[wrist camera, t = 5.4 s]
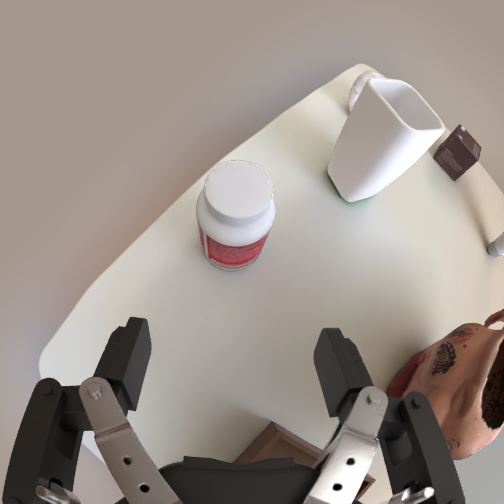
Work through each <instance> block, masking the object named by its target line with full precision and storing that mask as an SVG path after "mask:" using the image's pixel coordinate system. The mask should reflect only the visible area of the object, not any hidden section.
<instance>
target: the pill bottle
mask: <svg viewBox="0 0 504 504" xmlns="http://www.w3.org/2000/svg"><path fill="white" fill-rule="evenodd" d="M272 196H273V184H272V181H271V179H270V177H269V175H268V174H267V173H266V172H265V171H264V170H263V169H262V168H261V167H259V166H258V165H256V164H254V163H251V162H248V161H243V160H232V161H227V162H224V163H221V164H219V165H218V166H216V167H215V168H214V169H213V170H212V171H211V172H210V173H209V174H208V176H207V178H206V181H205V185H204V188H203V190H202V191H201V193H200V195H199V197H198V200H197V205H196V213H197V220H198V226H199V232H200V238H201V244H202V249H203V252H204V254H205V256H206V257H207V259H208V260H209V261H210V262H211V263H212V264H213V265H215V266H216V267H218V268H220V269H223V270H227V271H237V270H241V269H244V268H246V267H248V266H249V265H251V264H252V263H253V262H254V261H255V260H256V259H257V257H258V256H259V254H260V252H261V249H262V247H263V245H264V243H265V240H266V238H267V236H268V233H269V231H270V229H271V227H272V224H273V221H274V217H275V203H274V200H273V197H272Z"/></svg>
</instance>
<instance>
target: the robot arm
mask: <svg viewBox="0 0 504 504" xmlns="http://www.w3.org/2000/svg"><path fill="white" fill-rule="evenodd" d="M150 355H151V338H150V333H149V327H148V322H147V319H145V318H137V317H130V318H129V320H128V322H127V324H126V327H121V326H119V327H118V328H117V329H116V330H115V331H114V332H113V333H112V334H111V336H110V338H109V340H108V343H107V345H106V347H105V350H104V352H103V354H102V356H101V359H100V361H99V363H98V366H97V368H96V370H95V373H94V375H93V377H90V378H88V379H86V380H85V381H83V382H82V384H81V385H79V386H61V385H60V383H59V382H58V381H57V380H55V379H53V378H45V379H42V380H40V381H39V382H38V383H37V385H36V386H35V388H34V391H33V393H32V396H31V398H30V401H29V403H28V406H27V408H26V411H25V414H24V416H23V419H22V422H21V425H20V428H19V431H18V434H17V437H16V441H15V444H14V447H13V451H12V454H11V458H10V462H9V466H8V471H7V475H6V480H5V485H4V491H3V497H2V501H3V504H81V502H80V501H79V499H78V498H77V496H76V495H75V494H74V493H72V491H73V484H74V477H75V471H76V466H77V460H78V455H79V450H80V446H81V441H82V437H83V432H84V431H94V433H95V436H94V438H95V441H96V444H97V446H98V448H99V450H100V452H101V454H102V456H103V458H104V460H105V462H106V464H107V466H108V468H109V470H110V472H111V474H112V476H113V477H114V479H115V481H116V483H117V484H118V486H119V488H120V489H121V491H122V493H123V494H124V496H125V497H123V498H122V499H121V500H119V501H118V502H117V503H115V504H362V503H361V502H359V501H358V500H356V499H355V496H356V494H357V492H358V490H359V488H360V486H361V484H362V482H363V480H364V477H365V475H366V473H367V471H368V468H369V466H370V464H371V461H372V459H373V457H374V454H375V452H376V449H377V446H378V440H376V438H378V439H379V442H380V446H381V450H382V453H383V457H384V461H385V465H386V468H387V472H388V476H389V481H390V485H391V489H392V493H393V497H392V498H391V499H390V501H389V503H388V504H465V497H464V494H463V490H462V487H461V484H460V481H459V477H458V474H457V471H456V468H455V466H454V462H453V460H452V457H451V454H450V451H449V449H448V446H447V443H446V441H445V438H444V436H443V433H442V431H441V428H440V426H439V423H438V421H437V419H436V416H435V414H434V412H433V410H432V407H431V405H430V403H429V401H428V399H427V397H426V396H425V395H424V394H422V393H420V392H417V391H412V392H409V393H408V394H407V395H406V396H405V397H404V398H397V397H388V396H387V395H386V393H385V392H384V391H383V390H381V389H380V388H377V387H374V385H373V383H372V380H371V378H370V376H369V374H368V371H367V369H366V367H365V365H364V362H362V361H363V360H362V358H361V356H360V355H359V351H358V349H357V347H356V345H355V344H354V343H353V342H352V341H351V340H350V339H349V338H344V337H343V335H342V332H341V330H340V329H339V328H323V329H322V331H321V334H320V336H319V339H318V342H317V345H316V348H315V350H314V364H315V367H316V370H317V374H318V377H319V381H320V384H321V388H322V391H323V395H324V398H325V402H326V406H327V409H328V413H329V416H330V418H331V417H338V418H339V422H338V424H337V426H336V428H335V430H334V432H333V433H332V435H331V437H330V439H329V441H328V443H327V444H326V446H325V448H324V450H323V451H322V453H321V454H320V456H319V457H318V459H317V460H316V461H315V463H314V464H313V466H312V467H310V466H307V465H304V464H300V463H295V462H294V457H286V458H271V459H264V460H260V461H256V462H252V463H248V464H244V465H236V464H231V463H227V462H223V461H219V460H215V459H212V458H200V457H189V456H184V460H183V461H182V462H176V463H172V464H169V465H166V466H164V467H162V468H160V469H157V467H156V466H155V464H154V463H153V461H152V460H151V458H150V457H149V455H148V454H147V452H146V451H145V449H144V448H143V446H142V444H141V443H140V441H139V439H138V438H137V436H136V434H135V432H134V431H133V429H132V427H131V425H130V424H129V422H128V420H127V418H126V417H127V413H128V410H132V411H136V409H137V404H138V400H139V396H140V392H141V388H142V384H143V381H144V377H145V373H146V369H147V366H148V362H149V359H150Z"/></svg>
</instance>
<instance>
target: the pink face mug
mask: <svg viewBox="0 0 504 504" xmlns="http://www.w3.org/2000/svg"><path fill="white" fill-rule="evenodd" d="M498 321H503V322H504V309H503V310H501V311H498V312H496V313H494V314H492V315H491V316H489V317H488V318H487V320H486V321H485V324H484V326H483V325H481V324H477V323H467V324H463V325H461V326H459V327H458V328H456V329H455V330H453V331H452V332H451V333H450V334H448V335H447V336H445V337H444V338H443V339H441V340H439V341H437V342H435V343H434V344H432V345H431V346H429V347H427V348H426V349H425V350H423V351H420V352H418V353H417V354H415V355H414V356H413V357H412V358H411V359H410V360H409V361H408V362H407V363H406V364H405V365H404V366H403V367H402V369H401V370H400V372H399V374H398V375H397V377H396V378H395V380H394V381H393V382H392V384H391V386H390V389H389V396H388V397H397V398H404V397H405V396H406V395H407V394H408V393H409V392H412V391H417V392H420V393H422V394H424V395H425V396H426V397H427V399H428V401H429V403H430V405H431V407H432V410H433V412H434V414H435V416H436V419H437V421H438V423H439V426H440V428H441V431H442V433H443V436H444V438H445V441H446V443H447V446H448V449H449V451H450V454H451V457H452V460H462V459H465V458H467V457H469V456H471V455H473V454H474V453H475V452H476V451H478V450H480V449H481V448H483V447H485V446H486V445H488V444H489V443H491V442H492V441H493V440H494V438H495V437H496V436H497V434H498V433H499V432H500V430H501V429H502V427H503V426H504V327H503V328H502V330H492V329H489V328H488V327H489V326H490V325H491V324H493V323H495V322H498Z"/></svg>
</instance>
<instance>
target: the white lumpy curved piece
mask: <svg viewBox="0 0 504 504" xmlns="http://www.w3.org/2000/svg"><path fill="white" fill-rule="evenodd" d="M369 78H384V77H382V76H381V75H380V74H378V73H376V72H373V71H366V72H364V73H363V74H361V75H360V76H358V78H357V79H356V80H355V82H354V83H353V86H352V87H351V92H350V96H349V111H350V112H351V110H352V108H353V106H354V104H355V102H356V100H357V98H358V97H359V95H360V93H361V91H362V89H363V87H364V85H365V84H366V82H367V80H368V79H369Z"/></svg>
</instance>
